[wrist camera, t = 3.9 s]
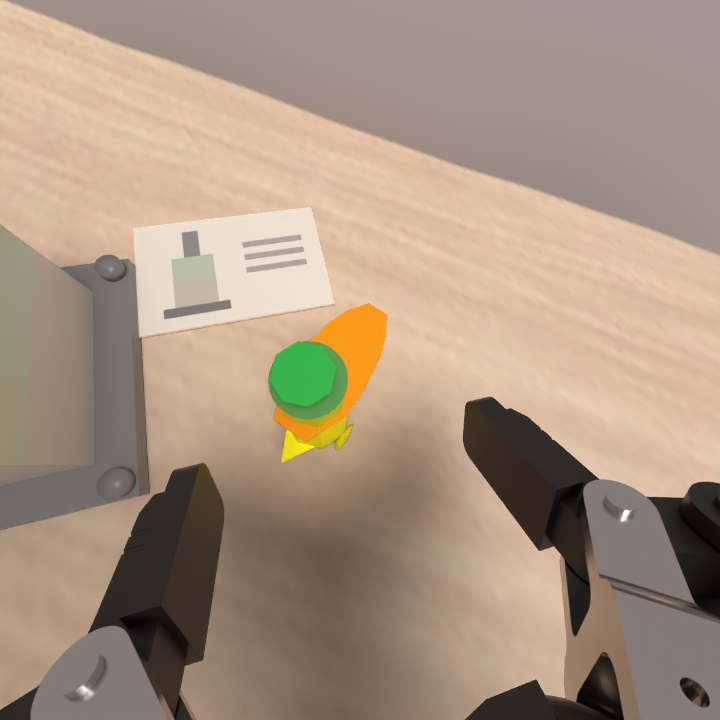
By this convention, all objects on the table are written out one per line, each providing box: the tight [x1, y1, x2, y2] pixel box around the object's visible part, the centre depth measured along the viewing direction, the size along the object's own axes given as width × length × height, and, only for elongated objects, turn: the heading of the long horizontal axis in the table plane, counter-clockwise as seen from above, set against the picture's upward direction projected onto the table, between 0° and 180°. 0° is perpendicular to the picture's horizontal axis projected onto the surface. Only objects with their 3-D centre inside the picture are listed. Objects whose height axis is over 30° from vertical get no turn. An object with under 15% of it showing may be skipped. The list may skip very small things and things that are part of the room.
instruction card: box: [133, 207, 335, 338], centre depth 21 cm, size 12×8×1 cm, turn 103°
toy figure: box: [269, 303, 387, 463], centre depth 14 cm, size 7×4×12 cm, turn 146°
